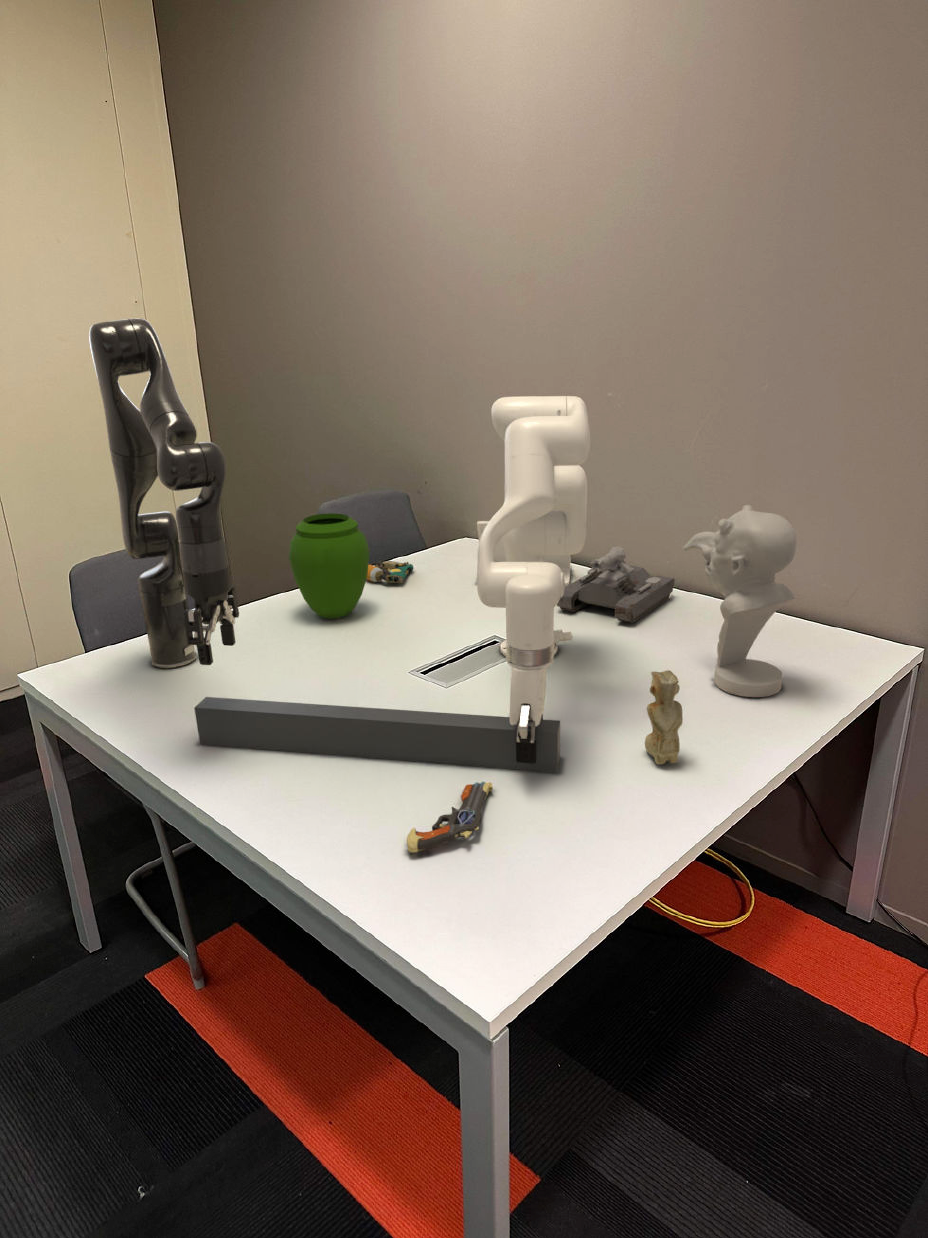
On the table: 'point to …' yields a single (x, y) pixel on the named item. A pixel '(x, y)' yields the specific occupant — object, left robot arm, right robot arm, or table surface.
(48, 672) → the table surface
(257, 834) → the table surface
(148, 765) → the table surface
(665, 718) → the sculpture
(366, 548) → the vase
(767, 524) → the bust sculpture
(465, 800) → the toy gun
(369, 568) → the spray gun
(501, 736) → the beam
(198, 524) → the left robot arm
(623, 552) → the toy
